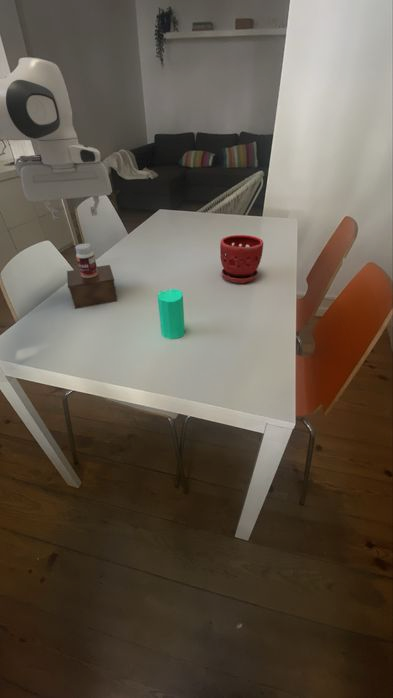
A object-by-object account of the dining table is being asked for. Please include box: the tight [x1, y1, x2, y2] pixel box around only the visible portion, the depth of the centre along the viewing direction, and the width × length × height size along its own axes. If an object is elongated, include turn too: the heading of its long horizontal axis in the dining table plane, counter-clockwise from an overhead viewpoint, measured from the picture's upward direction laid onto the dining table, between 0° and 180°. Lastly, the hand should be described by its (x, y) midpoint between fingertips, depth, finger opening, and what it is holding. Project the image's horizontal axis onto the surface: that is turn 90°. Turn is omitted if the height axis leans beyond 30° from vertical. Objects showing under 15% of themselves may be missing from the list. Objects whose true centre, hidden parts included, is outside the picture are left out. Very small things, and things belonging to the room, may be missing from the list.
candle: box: [157, 288, 186, 340], centre depth 76 cm, size 6×6×12 cm
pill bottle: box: [74, 243, 98, 278], centre depth 88 cm, size 5×5×8 cm
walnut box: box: [66, 264, 118, 309], centre depth 93 cm, size 12×10×7 cm
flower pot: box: [219, 234, 264, 284], centre depth 100 cm, size 13×13×12 cm
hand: (75, 216), depth 81 cm, fingers open, 8 cm apart
